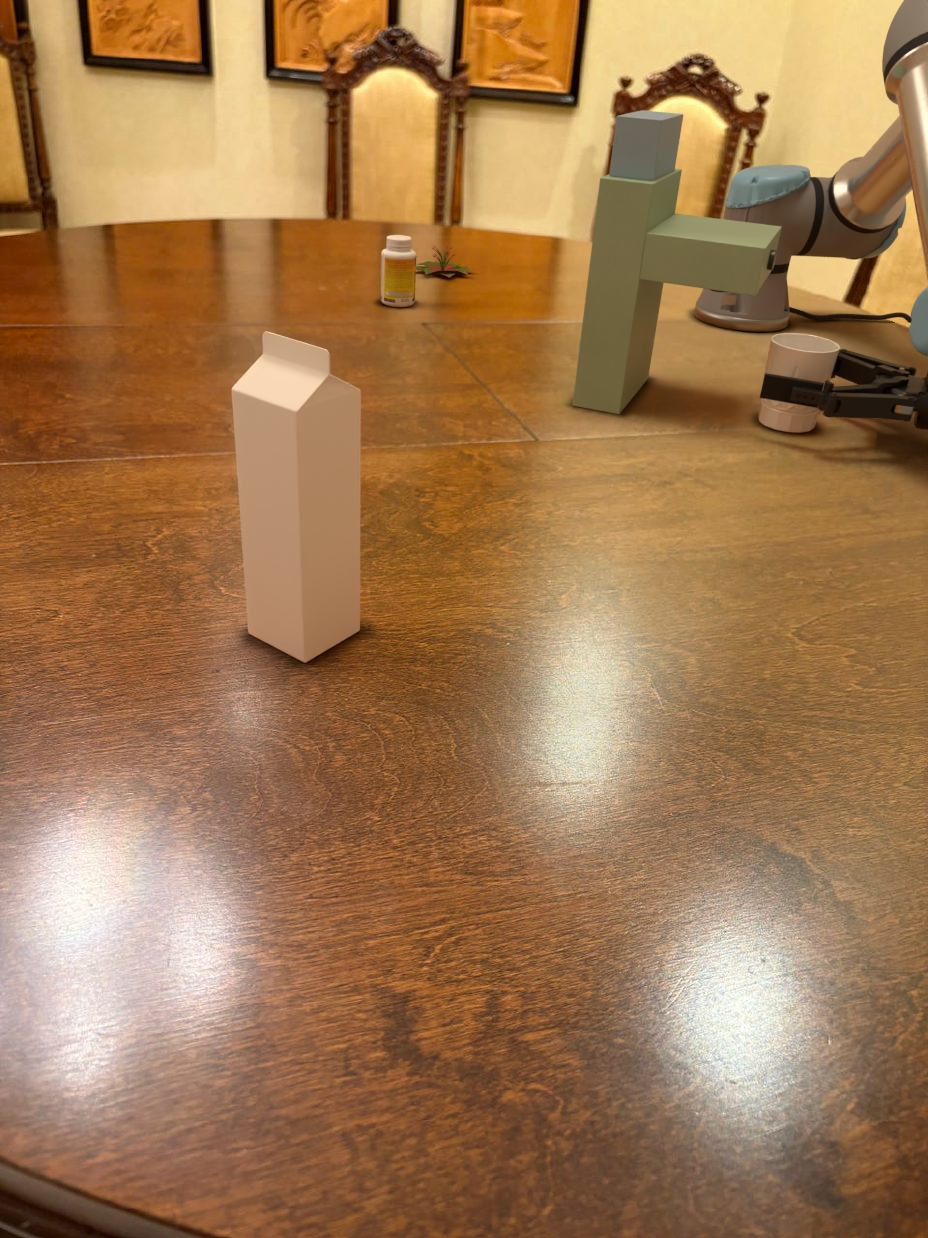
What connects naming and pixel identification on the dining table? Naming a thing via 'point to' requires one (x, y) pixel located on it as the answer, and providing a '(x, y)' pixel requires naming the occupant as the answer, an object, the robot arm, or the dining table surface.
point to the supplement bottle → (398, 272)
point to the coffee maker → (652, 258)
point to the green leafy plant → (442, 265)
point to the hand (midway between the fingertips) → (769, 369)
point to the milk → (299, 497)
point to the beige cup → (797, 361)
